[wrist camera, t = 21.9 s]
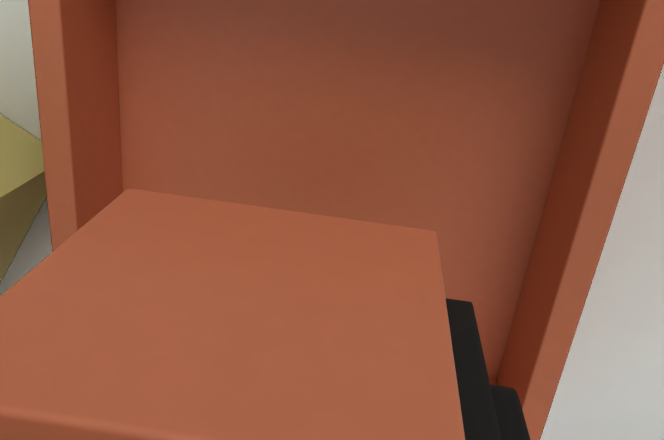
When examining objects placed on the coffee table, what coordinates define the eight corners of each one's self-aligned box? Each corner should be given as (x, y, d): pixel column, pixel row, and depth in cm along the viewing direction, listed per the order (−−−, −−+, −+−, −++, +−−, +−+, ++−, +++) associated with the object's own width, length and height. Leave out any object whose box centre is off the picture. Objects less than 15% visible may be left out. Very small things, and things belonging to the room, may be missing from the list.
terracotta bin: (641, -60, 15) (707, -64, 12) (511, 390, 21) (531, 468, 18) (91, -122, 16) (12, -142, 13) (114, 328, 22) (64, 393, 19)
